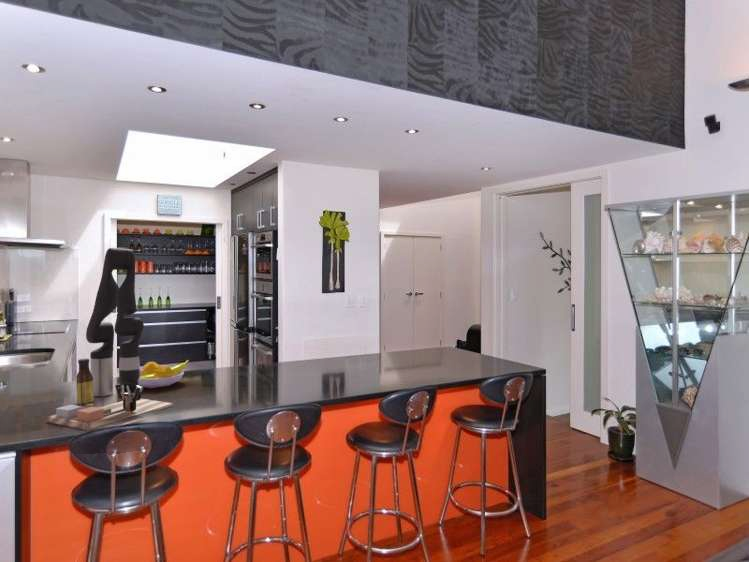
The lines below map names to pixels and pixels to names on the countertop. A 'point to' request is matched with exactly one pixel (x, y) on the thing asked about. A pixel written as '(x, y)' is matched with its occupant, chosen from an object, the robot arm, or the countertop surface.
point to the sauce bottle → (84, 383)
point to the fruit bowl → (160, 375)
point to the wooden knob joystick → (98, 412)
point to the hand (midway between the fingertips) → (129, 410)
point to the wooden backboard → (141, 407)
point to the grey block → (70, 411)
